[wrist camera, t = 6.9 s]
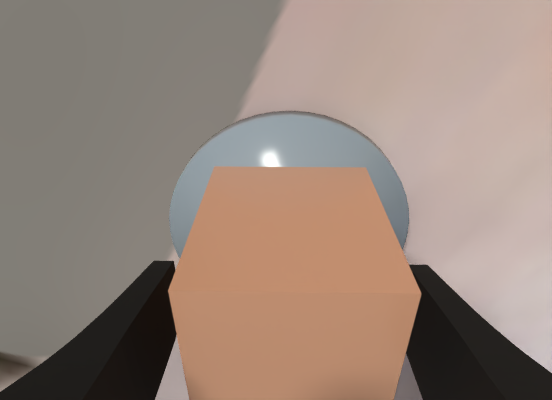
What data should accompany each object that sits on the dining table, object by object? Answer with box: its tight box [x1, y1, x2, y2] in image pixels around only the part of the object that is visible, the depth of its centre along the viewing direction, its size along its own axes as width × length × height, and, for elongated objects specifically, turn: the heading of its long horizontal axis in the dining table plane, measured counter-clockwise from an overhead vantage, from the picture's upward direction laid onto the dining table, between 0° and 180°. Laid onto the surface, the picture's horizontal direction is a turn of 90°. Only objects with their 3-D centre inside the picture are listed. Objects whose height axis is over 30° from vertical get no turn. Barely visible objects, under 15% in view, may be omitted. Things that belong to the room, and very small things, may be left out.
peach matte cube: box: [168, 166, 421, 400], centre depth 12 cm, size 5×5×6 cm
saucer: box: [169, 111, 409, 258], centre depth 15 cm, size 9×9×1 cm
